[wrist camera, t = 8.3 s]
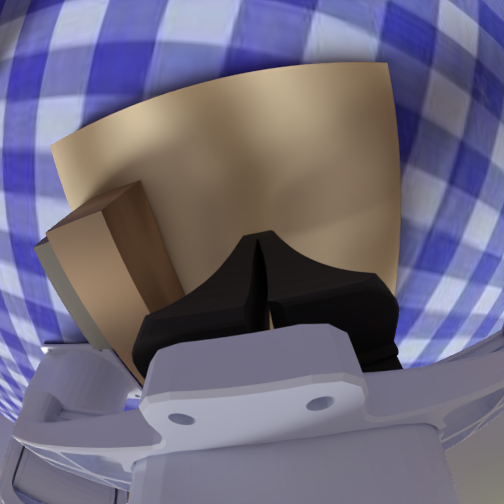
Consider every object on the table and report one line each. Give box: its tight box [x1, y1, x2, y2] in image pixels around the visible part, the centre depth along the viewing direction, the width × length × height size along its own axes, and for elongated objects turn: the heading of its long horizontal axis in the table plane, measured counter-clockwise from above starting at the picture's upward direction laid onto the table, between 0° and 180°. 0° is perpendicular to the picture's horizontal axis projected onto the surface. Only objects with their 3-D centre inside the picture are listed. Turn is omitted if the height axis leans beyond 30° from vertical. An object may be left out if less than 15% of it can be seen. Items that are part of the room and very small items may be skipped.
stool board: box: [33, 62, 401, 350], centre depth 13 cm, size 17×18×6 cm
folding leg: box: [46, 180, 186, 387], centre depth 13 cm, size 14×3×4 cm, turn 13°
